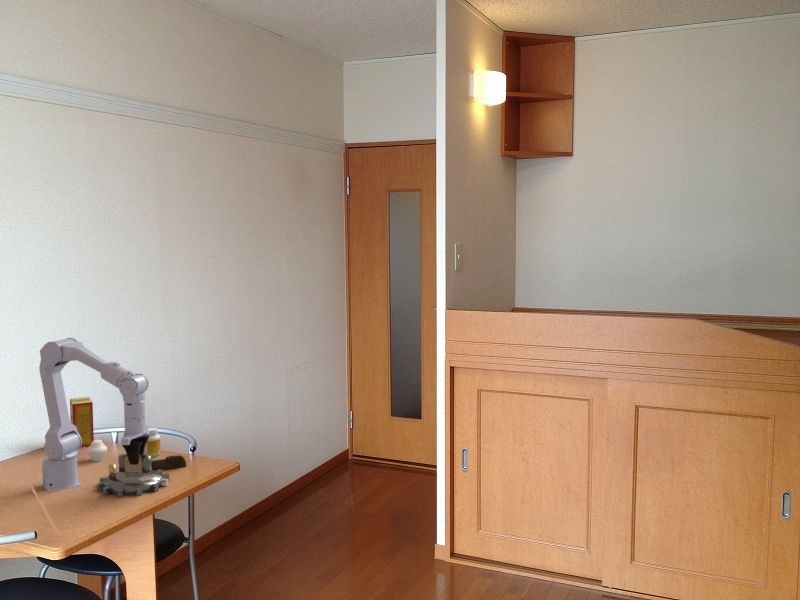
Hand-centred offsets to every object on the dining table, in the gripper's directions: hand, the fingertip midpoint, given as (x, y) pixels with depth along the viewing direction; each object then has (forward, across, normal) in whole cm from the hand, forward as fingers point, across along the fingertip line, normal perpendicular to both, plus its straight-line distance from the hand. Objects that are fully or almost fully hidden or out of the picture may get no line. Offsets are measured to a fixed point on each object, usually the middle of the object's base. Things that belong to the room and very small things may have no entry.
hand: (136, 462), depth 216 cm
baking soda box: (+9, +47, +39) cm, 62 cm away
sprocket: (+8, +5, +3) cm, 10 cm away
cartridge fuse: (+2, 0, 0) cm, 3 cm away
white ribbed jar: (+9, +29, +25) cm, 40 cm away
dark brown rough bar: (+9, +20, +2) cm, 22 cm away
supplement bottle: (+9, +33, +8) cm, 36 cm away
